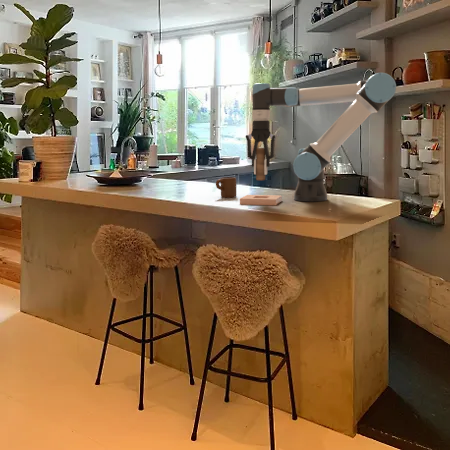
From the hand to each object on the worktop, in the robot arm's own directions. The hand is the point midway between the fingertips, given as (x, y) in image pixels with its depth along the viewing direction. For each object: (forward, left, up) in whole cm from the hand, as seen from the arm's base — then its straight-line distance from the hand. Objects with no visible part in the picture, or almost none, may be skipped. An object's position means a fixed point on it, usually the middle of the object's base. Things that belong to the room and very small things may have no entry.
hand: (260, 174), depth 233 cm
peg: (0, 0, -3) cm, 3 cm away
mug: (-15, -21, -13) cm, 29 cm away
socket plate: (0, 0, -13) cm, 13 cm away
